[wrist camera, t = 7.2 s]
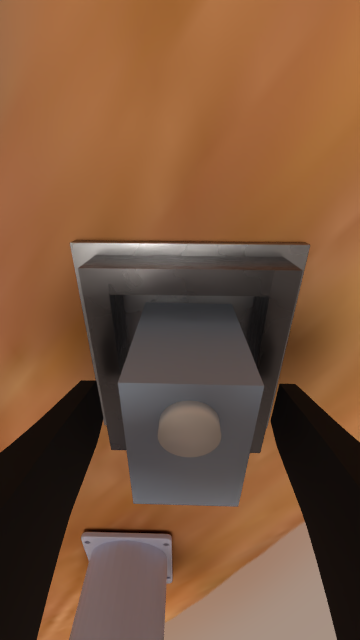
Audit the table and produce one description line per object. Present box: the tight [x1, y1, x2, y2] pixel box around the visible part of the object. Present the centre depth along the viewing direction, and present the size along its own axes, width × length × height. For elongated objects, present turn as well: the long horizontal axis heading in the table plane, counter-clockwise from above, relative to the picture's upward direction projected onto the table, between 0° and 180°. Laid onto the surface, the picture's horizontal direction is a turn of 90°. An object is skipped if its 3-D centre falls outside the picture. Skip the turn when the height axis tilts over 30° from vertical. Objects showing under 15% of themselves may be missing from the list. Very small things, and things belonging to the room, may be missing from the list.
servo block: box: [118, 302, 264, 506], centre depth 11 cm, size 6×4×6 cm, turn 179°
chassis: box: [70, 241, 310, 453], centre depth 12 cm, size 11×10×2 cm
